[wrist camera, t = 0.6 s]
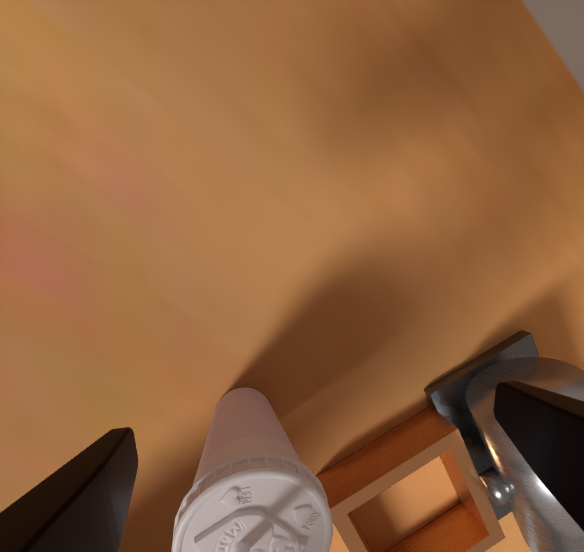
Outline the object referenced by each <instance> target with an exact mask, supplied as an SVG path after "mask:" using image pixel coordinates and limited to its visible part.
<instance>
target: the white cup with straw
mask: <svg viewBox="0 0 584 552" xmlns="http://www.w3.org/2000/svg"><path fill="white" fill-rule="evenodd" d="M332 536H333V521H332V515H331V511H330V508H329V505H328V500H327V496H326V493H325V491H324V489H323V486H322V484H321V482H320V480H319V479H318V478H317V477H316V476H315V475H314V473H313V472H312V471H311V470H310V469H309V468H308V467H306V466H305V465H303V464H302V462H301V460H300V458H299V457H298V455H297V453H296V451H295V450H294V448H293V446H292V444H291V442H290V440H289V438H288V437H287V435H286V433H285V431H284V429H283V427H282V425H281V424H280V422H279V420H278V418H277V416H276V414H275V412H274V411H273V409H272V407H271V405H270V403H269V401H268V400H267V398H266V397H265V395H264V394H262V393H261V392H260V391H258V390H256V389H253V388H248V387H242V388H237V389H234V390H231V391H230V392H228V393H226V394H225V395H224V396H223V397H222V398H221V399H220V401H219V402H218V404H217V406H216V409H215V412H214V416H213V419H212V423H211V426H210V429H209V433H208V436H207V439H206V443H205V446H204V450H203V453H202V456H201V460H200V463H199V466H198V470H197V473H196V477H195V479H194V482H193V486H192V488H191V490H190V491H189V492H188V493H187V495H186V496H185V497H184V499H183V501H182V503H181V506H180V508H179V510H178V513H177V515H176V517H175V524H174V532H173V542H172V551H171V552H329V550H330V546H331V542H332Z"/></svg>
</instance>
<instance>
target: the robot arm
mask: <svg viewBox="0 0 584 552" xmlns="http://www.w3.org/2000/svg"><path fill="white" fill-rule="evenodd" d="M493 412H494V416H495V418H496V420H497V422H498V423H499V425H500V426H501V427H502V429H503V430H504V432H505V433H506V434H507V436H508V437H509V439H510V440H511V441H512V443H513V444H514V446H515V447H516V448H517V450H518V451H519V453H520V454H521V455H522V457H523V458H524V459H525V461H526V462H527V464H528V465H529V466H530V468H531V469H532V470H533V472H534V473H535V474H536V476H537V477H538V478H539V479H540V481H541V482H542V483H543V484H544V486H545V487H546V488H547V489H548V490H549V492H550V493H551V494H552V495H553V496H554V497H555V499H556V500H557V501H558V502H559V503H560V505H561V506H562V507H563V508H564V509H565V510H566V512H567V513H568V514H569V515H570V516H571V518H572V519H573V520H574V521H575V522H576V523H577V525H578V526H579V527H580V528H581V529H582V531H583V532H584V401H581V400H578V399H575V398H571V397H568V396H565V395H561V394H558V393H555V392H552V391H548V390H545V389H542V388H538V387H535V386H532V385H528V384H525V383H522V382H519V381H514V380H511V381H503V382H499V383H498V384H497V385H496V389H495V399H494V408H493ZM137 469H138V455H137V449H136V443H135V438H134V433H133V430H132V429H131V428H130V427H126V428H118V429H112V430H110V431H109V432H107V433H106V434H105V435H103V436H102V437H101V438H99V439H98V440H97V441H95V442H94V443H93V444H91V445H90V446H89V447H87V448H86V449H85V450H83V451H82V452H81V453H79V454H78V455H77V456H75V457H74V458H73V459H71V460H70V461H69V462H67V463H66V464H65V465H63V466H62V467H61V468H59V469H58V470H57V471H55V472H54V473H53V474H51V475H50V476H49V477H47V478H46V479H45V480H43V481H42V482H41V483H39V484H38V485H37V486H35V487H34V488H33V489H31V490H30V491H29V492H27V493H26V494H25V495H23V496H22V497H21V498H19V499H18V500H17V501H15V502H14V503H13V504H11V505H10V506H9V507H7V508H6V509H5V510H3V511H2V512H1V513H0V552H118V549H119V545H120V542H121V538H122V534H123V530H124V526H125V521H126V517H127V513H128V508H129V504H130V500H131V495H132V491H133V487H134V482H135V478H136V474H137Z"/></svg>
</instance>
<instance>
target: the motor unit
mask: <svg viewBox="0 0 584 552" xmlns="http://www.w3.org/2000/svg"><path fill="white" fill-rule="evenodd" d="M511 380H514V381H519V382H522V383H525V384H528V385H532V386H535V387H538V388H542V389H545V390H548V391H552V392H555V393H558V394H561V395H565V396H568V397H571V398H575V399H578V400H581V401H584V371H582V370H581V369H579V368H577V367H576V366H573V365H571V364H569V363H566V362H563V361H559V360H555V359H550V358H541V357H539V354H538V352H537V349H536V346H535V343H534V340H533V337H532V334H531V333H529V332H526V331H523V330H522V331H520V332H518V333H517V334H515V335H513V336H512V337H510V338H508V339H507V340H505V341H503V342H502V343H500V344H498V345H497V346H495V347H493V348H492V349H490V350H489V351H487V352H485V353H484V354H482V355H480V356H479V357H477V358H475V359H474V360H472V361H470V362H469V363H467V364H465V365H464V366H462V367H460V368H459V369H457V370H455V371H454V372H452V373H450V374H449V375H447V376H445V377H444V378H442V379H441V380H439V381H437V382H436V383H434V384H432V385H431V386H429V387H427V388H426V389H424V391H425V393H426V395H427V398H428V400H429V402H430V404H431V406H430V407H428V408H427V409H425V410H423V411H422V412H420V413H419V414H417V415H415V416H414V417H412V418H410V419H409V420H407V421H405V422H404V423H402V424H401V425H399V426H397V427H396V428H394V429H392V430H391V431H389V432H388V433H386V434H384V435H383V436H381V437H379V438H378V439H376V440H374V441H373V442H371V443H370V444H368V445H366V446H365V447H363V448H361V449H360V450H358V451H356V452H355V453H353V454H352V455H350V456H348V457H347V458H345V459H343V460H342V461H340V462H339V463H337V464H335V465H334V466H332V467H330V468H329V469H327V470H325V471H324V472H322V473H321V474H319V475H317V476H316V477H317V478H318V479H319V480H320V482H321V484H322V486H323V489H324V491H325V493H326V496H327V500H328V505H329V508H330V511H331V515H332V521H333V523H334V525H335V527H336V528H337V530H338V532H339V534H340V535H341V537H342V539H343V541H344V542H345V544H346V546H347V548H348V549H349V551H350V552H372V551H371V550H370V548H369V546H368V544H367V542H366V541H365V539H364V537H363V535H362V533H361V531H360V530H359V528H358V526H357V524H356V522H355V521H354V519H353V517H352V515H351V513H350V512H351V511H353V510H354V509H356V508H357V507H359V506H361V505H362V504H364V503H365V502H367V501H368V500H370V499H372V498H373V497H375V496H376V495H378V494H379V493H381V492H383V491H384V490H386V489H387V488H389V487H391V486H392V485H394V484H395V483H397V482H398V481H400V480H402V479H403V478H405V477H406V476H408V475H409V474H411V473H413V472H414V471H416V470H417V469H419V468H420V467H422V466H424V465H425V464H427V463H428V462H430V461H431V460H433V459H435V458H436V457H438V456H439V455H440V458H441V460H442V462H443V464H444V466H445V469H446V471H447V473H448V475H449V477H450V480H451V482H452V484H453V486H454V488H455V490H456V493H457V495H458V497H459V499H460V501H461V503H459V504H458V505H456V506H455V507H453V508H451V509H450V510H448V511H447V512H445V513H444V514H442V515H441V516H439V517H438V518H436V519H435V520H433V521H432V522H430V523H429V524H427V525H426V526H424V527H423V528H421V529H420V530H418V531H417V532H415V533H413V534H412V535H410V536H409V537H407V538H406V539H404V540H403V541H401V542H400V543H398V544H397V545H395V546H394V547H392V548H391V549H389V550H388V551H386V552H485V551H486V550H488V549H489V548H491V547H492V546H494V545H495V544H497V543H498V542H499V541H501V540H502V539H504V538H505V536H504V533H503V531H502V529H501V527H500V524H499V522H498V520H499V519H501V518H502V517H504V516H505V515H507V514H508V513H510V512H511V511H512V512H513V514H514V517H515V519H516V522H517V524H518V526H519V529H520V531H521V534H522V536H523V538H524V540H525V542H526V544H527V545H528V546H529V548H530V549H531V551H532V552H584V532H583V531H582V529H581V528H580V527H579V526H578V525H577V523H576V522H575V521H574V520H573V519H572V518H571V516H570V515H569V514H568V513H567V512H566V510H565V509H564V508H563V507H562V506H561V505H560V503H559V502H558V501H557V500H556V499H555V497H554V496H553V495H552V494H551V493H550V492H549V490H548V489H547V488H546V487H545V486H544V484H543V483H542V482H541V481H540V479H539V478H538V477H537V476H536V474H535V473H534V472H533V470H532V469H531V468H530V466H529V465H528V464H527V462H526V461H525V459H524V458H523V457H522V455H521V454H520V453H519V451H518V450H517V448H516V447H515V446H514V444H513V443H512V441H511V440H510V439H509V437H508V436H507V434H506V433H505V432H504V430H503V429H502V427H501V426H500V425H499V423H498V422H497V420H496V418H495V416H494V412H493V408H494V399H495V389H496V385H497V384H498V383H499V382H503V381H511Z"/></svg>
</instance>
